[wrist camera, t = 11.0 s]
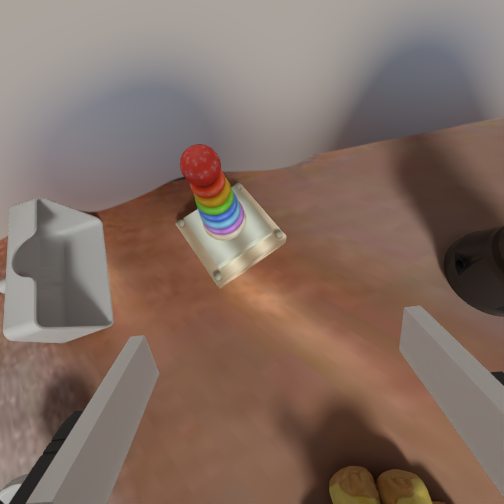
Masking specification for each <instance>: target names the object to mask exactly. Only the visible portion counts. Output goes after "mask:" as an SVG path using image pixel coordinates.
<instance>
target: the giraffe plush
mask: <svg viewBox="0 0 504 504" xmlns="http://www.w3.org/2000/svg"><path fill="white" fill-rule="evenodd" d="M329 492H330V496H331V499H332V502H333V504H446V503H443V502H440V501H431V499H430V496H429V493H428V490H427V488H426V486H425V485H424V483H423V481H422V480H421V479H420V478H419V477H418V476H417V475H416V474H414V473H411V472H407V471H404V470H398V469H392V470H388V471H386V472H383V473H382V474H381V475H380V476H379V477H378V478H377V480H376V483H375V482H374V479H373V477H372V475H371V473H370V472H368V471H367V469H366V468H364V467H360V466H348V467H345V468H342V469H340V470H339V471H338V472H336V473H335V474H334V475H333V477H332V478H331V480H330V482H329Z"/></svg>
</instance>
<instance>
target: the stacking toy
mask: <svg viewBox="0 0 504 504" xmlns="http://www.w3.org/2000/svg"><path fill="white" fill-rule="evenodd" d="M180 168H181V171H182V174H183V176H184V177H185V178H186V180H187V181H189V182H190V187H191V190H192V191H193V193H194V197H195V202H196V205H197V207H198V211H199V214H200V217H201V220H202V221H203V225H204V229H205V231H206V232H207V234H208V235H209V236H211V237H212V238H214V239H216V240H221V241H226V240H231V239H233V238H235V237H237V236H238V235H239V234H240V233H241V232H242V231H243V230H244V228H245V225H246V214H245V211H244V209H243V206H242V205H241V203H240V202H239V201H238V199H237V198H236V195H235V193H234V192H233V190H232V188H231V186H230V183H229V181H228V180H227V178H226V177H225V175H224V173H223V172H222V170H221V163H220V159H219V157H218V155H217V153H216V152H215V151H214V150H213V149H212V148H210V147H208V146H206V145H202V144H197V145H193V146H190V147H189V148H188V149H186V150H185V152H184V153H183V154H182V157H181V162H180Z"/></svg>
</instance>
